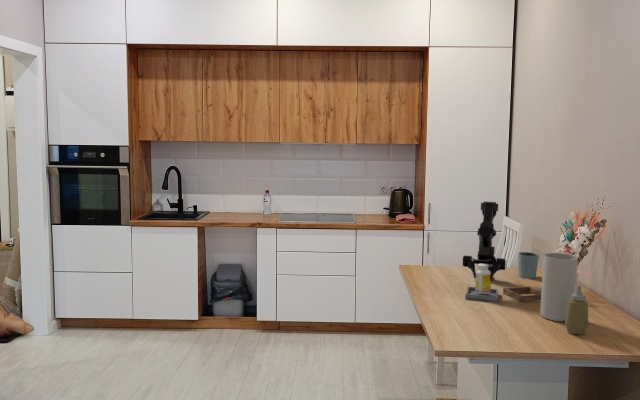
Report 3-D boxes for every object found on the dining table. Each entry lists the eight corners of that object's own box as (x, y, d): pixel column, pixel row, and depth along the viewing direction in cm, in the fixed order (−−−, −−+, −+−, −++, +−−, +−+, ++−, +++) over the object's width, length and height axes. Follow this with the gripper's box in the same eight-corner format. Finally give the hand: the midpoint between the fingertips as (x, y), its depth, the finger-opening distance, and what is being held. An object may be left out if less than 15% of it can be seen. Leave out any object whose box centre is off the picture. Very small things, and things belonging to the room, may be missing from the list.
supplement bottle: (493, 292, 264) (493, 264, 263) (486, 295, 259) (486, 266, 258) (479, 289, 268) (479, 262, 267) (472, 293, 263) (472, 264, 262)
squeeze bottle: (586, 330, 220) (590, 283, 218) (589, 337, 212) (592, 289, 210) (563, 328, 223) (566, 281, 221) (564, 335, 215) (568, 287, 213)
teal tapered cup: (516, 277, 300) (517, 254, 298) (517, 273, 309) (518, 251, 308) (537, 280, 296) (538, 256, 295) (538, 275, 305) (539, 252, 304)
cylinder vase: (533, 314, 239) (536, 254, 236) (556, 311, 244) (560, 252, 241) (556, 323, 228) (560, 260, 225) (580, 320, 233) (585, 258, 230)
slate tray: (467, 291, 272) (467, 286, 272) (498, 294, 268) (498, 289, 268) (465, 299, 260) (465, 294, 259) (497, 302, 255) (497, 297, 255)
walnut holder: (502, 293, 270) (503, 288, 269) (528, 291, 274) (529, 286, 273) (521, 302, 256) (522, 296, 256) (548, 300, 260) (549, 294, 260)
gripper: (463, 238, 267) (460, 267, 258) (506, 241, 262) (505, 271, 253) (464, 251, 276) (461, 280, 267) (506, 254, 270) (504, 284, 261)
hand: (482, 278), depth 262 cm, fingers closed on supplement bottle, 7 cm apart
